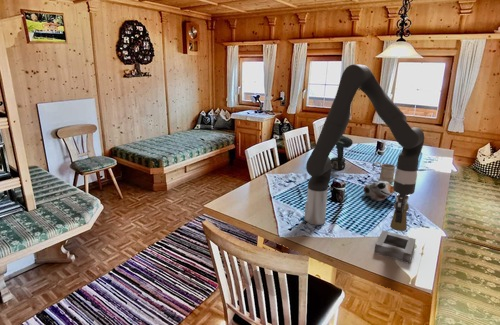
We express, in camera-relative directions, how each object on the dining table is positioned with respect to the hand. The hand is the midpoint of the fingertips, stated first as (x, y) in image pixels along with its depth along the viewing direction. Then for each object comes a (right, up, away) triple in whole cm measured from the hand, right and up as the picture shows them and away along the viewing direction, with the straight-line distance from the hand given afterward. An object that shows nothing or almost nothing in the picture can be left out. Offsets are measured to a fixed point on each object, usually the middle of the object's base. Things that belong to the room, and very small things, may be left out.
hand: (399, 220), depth 125 cm
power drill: (+3, +19, +108) cm, 110 cm away
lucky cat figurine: (+14, +2, +54) cm, 56 cm away
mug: (+28, +11, +82) cm, 88 cm away
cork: (0, -3, +1) cm, 3 cm away
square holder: (0, -13, +4) cm, 14 cm away
